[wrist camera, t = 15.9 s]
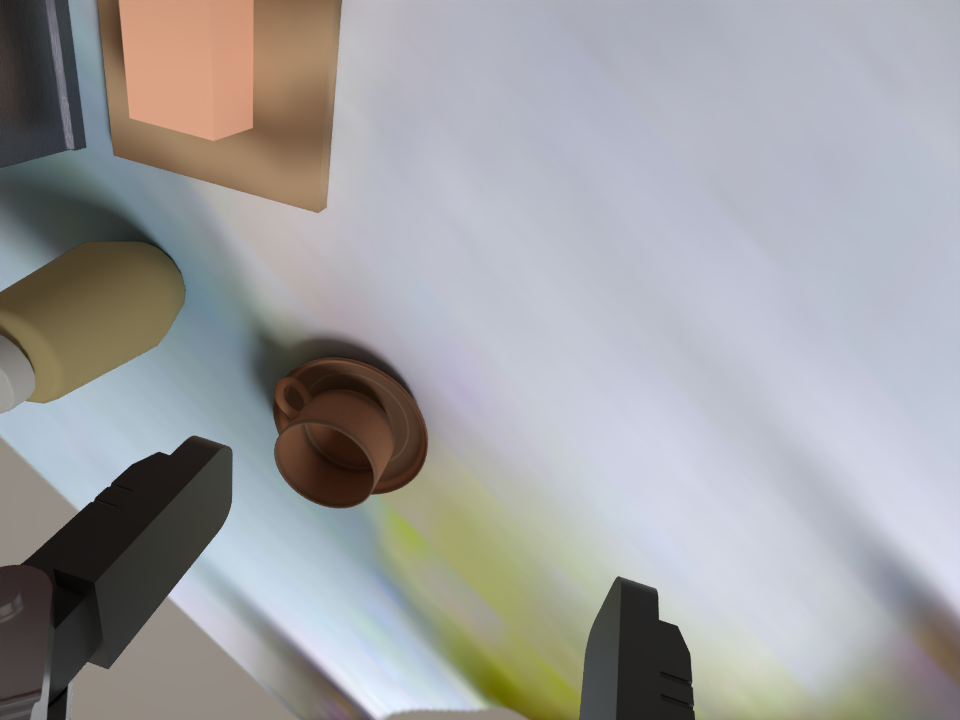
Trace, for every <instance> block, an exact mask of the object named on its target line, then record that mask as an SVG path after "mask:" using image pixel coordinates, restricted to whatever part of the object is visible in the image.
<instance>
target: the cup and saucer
mask: <svg viewBox="0 0 960 720" xmlns="http://www.w3.org/2000/svg"><path fill="white" fill-rule="evenodd" d="M274 395H275V399H274V407H273V411H274V420H275V424H276V428H277V431H278V433H279V437H278V439H277V441H276V444H275V449H274V455H275V461H276V465H277V467H278V470H279V472H280V473H281V475H282V477H283V478H284V480H285V481H286V482H287V483H288V484H289V485H290V486H291V487H292V488H293V489H294V490H295V491H296V492H297V493H298V494H300V495H301V496H303V497H304V498H306V499H308V500H310V501H312V502H314V503H316V504H319V505H322V506H325V507H330V508H349V507H353V506H356V505H359V504H361V503H362V502H364V501H365V500H366V499H367V498H368V497H369V496H370V495H373V494H383V493H388V492H392V491H395V490H397V489H400V488H402V487H404V486H405V485H407V484H408V483H409V482H411V481H412V480H413V479H414V478H415V477H416V476H417V475H418V473H419V472H420V470H421V468H422V467H423V464H424V462H425V459H426V455H427V448H428V434H427V428H426V424H425V421H424V418H423V416H422V413H421V411H420V409H419V408H418V406H417V404H416V403H415V401H414V400H413V398H412V397H411V396H410V395H409V393H408V392H407V391H406V390H405V389H404V388H403V387H402V386H401V385H400V384H399V383H398V382H396V381H395V380H394V379H393V378H391V377H390V376H389V375H387V374H386V373H384V372H382V371H381V370H379V369H377V368H375V367H373V366H370V365H368V364H366V363H363V362H360V361H356V360H352V359H347V358H337V357H329V358H320V359H316V360H312V361H309V362H307V363H304V364H302V365H300V366H299V367H297V368H295V369H294V370H292V371H291V372H290V373H289V374H288V375H287V376H286V377H284V378H282V379H280V380H279V381H278V382H277V383H276V385H275V388H274Z"/></svg>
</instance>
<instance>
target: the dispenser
mask: <svg viewBox="0 0 960 720" xmlns="http://www.w3.org/2000/svg"><path fill="white" fill-rule="evenodd" d="M82 148H86V142H85V134H84V126H83V118H82V110H81V102H80V94H79V86H78V78H77V70H76V62H75V54H74V46H73V38H72V30H71V22H70V14H69V6H68V0H0V168H3V167H6V166H10V165H14V164H18V163H21V162H25V161H29V160H33V159H36V158H40V157H44V156H48V155H51V154H55V153H59V152H63V151H66V150H70V149H71V150H74V151H75V150H79V149H82Z"/></svg>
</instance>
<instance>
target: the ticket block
mask: <svg viewBox="0 0 960 720" xmlns="http://www.w3.org/2000/svg"><path fill="white" fill-rule="evenodd" d="M119 8H120V19H121V30H122V41H123V52H124V63H125V73H126V84H127V95H128V106H129V117H130V118H131V119H134V120H138V121H142V122H145V123H149V124H153V125H157V126H160V127H164V128H168V129H171V130H175V131H179V132H182V133H186V134H190V135H193V136H197V137H201V138H204V139H208V140H212V141H215V140H218V139H221V138H224V137H227V136H230V135H233V134H236V133H239V132H242V131H245V130H248V129H251V128H253V14H254V0H119Z"/></svg>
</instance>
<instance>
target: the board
mask: <svg viewBox="0 0 960 720" xmlns="http://www.w3.org/2000/svg"><path fill="white" fill-rule="evenodd" d="M97 2H98V11H99V21H100V30H101V40H102V50H103V59H104V69H105V78H106V88H107V98H108V107H109V117H110V126H111V136H112V146H113V155H114V156H118V157H121V158H125V159H128V160H132V161H135V162H139V163H143V164H146V165H150V166H153V167H157V168H160V169H164V170H167V171H171V172H174V173H178V174H182V175H185V176H189V177H192V178H196V179H199V180H203V181H206V182H210V183H213V184H217V185H221V186H224V187H228V188H231V189H235V190H238V191H242V192H245V193H249V194H252V195H256V196H260V197H263V198H267V199H270V200H274V201H277V202H281V203H284V204H288V205H291V206H295V207H299V208H302V209H306V210H309V211H313V212H316V213H319V212H320V211H322V210H323V209H325V208H326V206H327V193H328V179H329V166H330V152H331V139H332V125H333V112H334V98H335V85H336V71H337V57H338V44H339V30H340V17H341V3H342V0H254V14H253V128H251V129H248V130H245V131H242V132H239V133H236V134H233V135H230V136H227V137H224V138H221V139H218V140H215V141H212V140H208V139H204V138H201V137H197V136H193V135H190V134H186V133H182V132H179V131H175V130H171V129H168V128H164V127H160V126H157V125H153V124H149V123H145V122H142V121H138V120H134V119H131V118H130V117H129V106H128V95H127V84H126V73H125V63H124V52H123V41H122V30H121V19H120V8H119V0H97Z"/></svg>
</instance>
